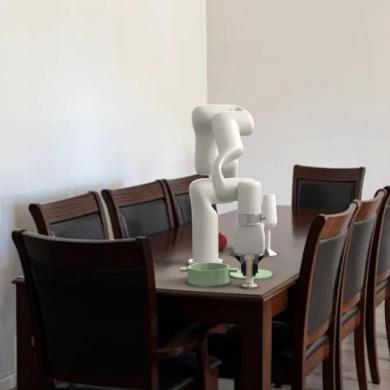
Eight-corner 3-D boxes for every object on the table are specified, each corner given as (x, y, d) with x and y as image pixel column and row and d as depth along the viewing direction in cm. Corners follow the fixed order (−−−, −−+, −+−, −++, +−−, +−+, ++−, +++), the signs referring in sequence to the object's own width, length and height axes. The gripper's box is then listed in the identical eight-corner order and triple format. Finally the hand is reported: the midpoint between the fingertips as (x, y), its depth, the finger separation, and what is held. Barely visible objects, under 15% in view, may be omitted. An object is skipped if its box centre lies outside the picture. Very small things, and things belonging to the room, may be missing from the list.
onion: (226, 252, 313) (226, 232, 312) (212, 252, 312) (212, 232, 311) (227, 250, 318) (227, 230, 318) (213, 250, 318) (213, 230, 317)
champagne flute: (258, 253, 312) (258, 193, 310) (274, 252, 315) (274, 192, 312) (262, 256, 306) (262, 195, 304) (279, 255, 309) (279, 194, 306)
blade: (243, 284, 257) (243, 255, 256) (258, 284, 257) (258, 256, 256) (240, 290, 249) (240, 260, 248) (256, 290, 249) (256, 261, 248)
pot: (184, 278, 265) (183, 262, 265) (239, 278, 265) (239, 262, 265) (176, 287, 252) (176, 270, 251) (234, 287, 252) (234, 270, 252)
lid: (232, 272, 276) (232, 254, 275) (273, 272, 276) (273, 255, 275) (227, 281, 262) (227, 262, 261) (270, 281, 262) (270, 263, 261)
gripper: (275, 217, 254) (275, 273, 256) (225, 217, 254) (225, 272, 256) (274, 220, 247) (273, 278, 249) (222, 220, 247) (222, 277, 249)
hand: (249, 275), depth 252 cm, fingers closed on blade, 2 cm apart
